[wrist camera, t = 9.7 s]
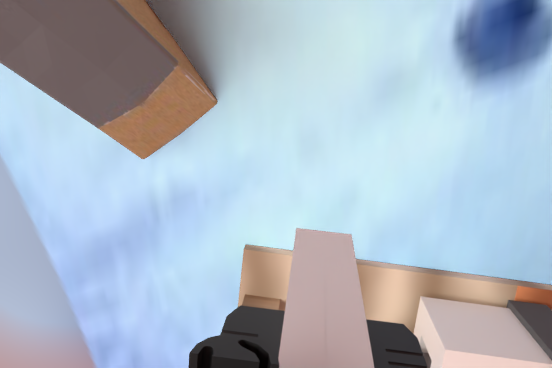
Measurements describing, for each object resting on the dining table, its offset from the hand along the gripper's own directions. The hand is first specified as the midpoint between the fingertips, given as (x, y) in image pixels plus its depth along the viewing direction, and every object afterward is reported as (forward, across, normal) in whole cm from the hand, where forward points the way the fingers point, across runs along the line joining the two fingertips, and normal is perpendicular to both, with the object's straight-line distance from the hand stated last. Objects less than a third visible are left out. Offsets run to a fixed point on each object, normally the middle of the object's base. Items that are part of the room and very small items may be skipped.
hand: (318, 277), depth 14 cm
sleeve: (+25, +13, -16) cm, 32 cm away
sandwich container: (+29, -16, +4) cm, 33 cm away
